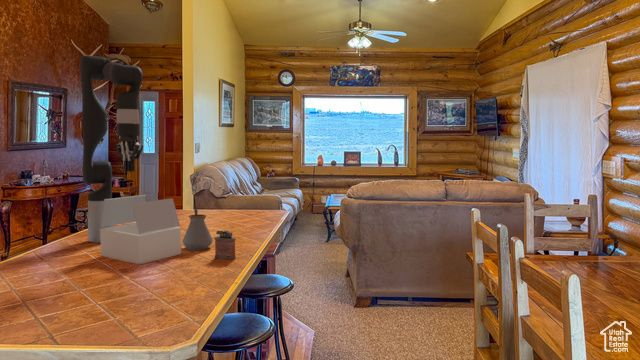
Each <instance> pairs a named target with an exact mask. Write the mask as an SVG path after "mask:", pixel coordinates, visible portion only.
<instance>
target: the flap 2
mask: <svg viewBox="0 0 640 360" xmlns="http://www.w3.org/2000/svg"><path fill="white" fill-rule="evenodd" d="M132 208H133V212H134V216H135V220H136V222H135V223H137V227H138V231H139V233H145V232H150V231H155V230H160V229H166V228H171V227H180V221H179V217H178V213H177V208H176V205H175V202H174V198H173V197H172V198H165V199H164V198H163V199H157V200H151V201H150V200H148V201H145V202H140V203H132Z"/></svg>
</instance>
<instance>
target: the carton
mask: <svg viewBox="0 0 640 360" xmlns="http://www.w3.org/2000/svg"><path fill="white" fill-rule="evenodd" d="M181 229H182V228H181V227H180V226H176V227H171V228H166V229H160V230H155V231H150V232H145V233H139V231H138V227H137V223H136V222H131V223H125V224H119V225H113V227H108V228H102V229H100V238H101V242H100V256H101V257H105V258H108V259H114V260H116V261H117V260H118V261H121V262H127V263H130V264H135V265H144V264H149V263H151V262H156V261H159V260H163V259H167V258H171V257H174V256H175V257H176V256H178V255H182V233H181V232H182V230H181Z"/></svg>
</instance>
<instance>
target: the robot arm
mask: <svg viewBox="0 0 640 360" xmlns="http://www.w3.org/2000/svg"><path fill="white" fill-rule="evenodd" d="M79 73H80V84H81V96H82V98H81V99H82V103H81V105H82V107H81V108H82V112H81V113H82V114H81V116H82V117H81V118H82V120H81V121H82V122H81V124H82V139H83V140H82V141H83V142H82V143H83V146H82V147H83V148H82V149H83V151H82V153H83V154H82V180H83V183H84V184H86V185H93V184H94V185H95V184H102V186H101V187H100V188H98V189H96V190H94V191H91V192H89V193H88V194H87V210H88V211H87V215H88V216H87V235H88V236H87V237H88V238H87V239H88V241H89V242H90V243H95V244H96V243H97V244H98V243H100V244H101V238H100V229H102V228H108V227H114V225H111V226H105V227H101V221H102V213H103V205H104V199H113V188H112V187H113V186H112V183H113V168H112V164H111V162H110V161H107V160H102V161H101V160H98V161H97V160H96V161H95V160H94V161H93V156H94V153H95V151H96V149H97V147H98V146H99V144H100V142H101V141H102V140H103V139H104V137H105V136H106V134H107V131H108V113H107V109H106V108H105V106H104V105H103V103H102V102H101V101H100V99H99V98H98V97H97V95H96V93H95V90H94V87H93V83H92V81H110V82H111V83H112V84H113V85H117V86H118V85H119V86H128V87H129V86H130V88H129V89H128V91H122V92H119V93H117V94H116V135H117V136H118V137H120V138H119V140H118V141H119V143H116V144H115V145H114V148H115V149H116V151H117V154H118V155H117V156H118V157H119V159H120V160H122V161H123V163H124V172H127V173H128V172H129V173H130V172H135V169H136V168H135V161H136V160H139V158H140V156H141V154H142V151H143V149H144V144H141V143H139V139H138V137H140V133H141V131H140V129H141V127H140V113H139V95H140V92H141V91H140V90H141V88H142V87H141V86H142V83H143V79H144V78H143V76H144V75H143V71H142V69H141V68H140V67H139V66H137V65H129V64H121V63H118V62H113V61H111V60H110V59H109V58H107V57H104V56H97V55H96V56H95V55H83V56H81V58H80V61H79Z"/></svg>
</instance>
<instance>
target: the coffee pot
mask: <svg viewBox="0 0 640 360" xmlns="http://www.w3.org/2000/svg"><path fill="white" fill-rule="evenodd" d="M192 209H193V210H194V214H190V215H189V216H188V218H189V220H190V222H189V224H188V227H187V229H186V230H185V231H186V232H185V234H184V236H183V238H182V245H183V246H184V247H185V248H187V249H188V250H190V251H202V250H206V249H208V248H209V247H210V246H211V245H212V243H213V241H214V240H213V237H212V235H211V233H210V231H209V230H210V229H208V226H207V224H206V221H205V219H206V217H207V215H206V214H198V211H199V210H198V209H199V206H198V205H196V204H195V205H194V206H192Z"/></svg>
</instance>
